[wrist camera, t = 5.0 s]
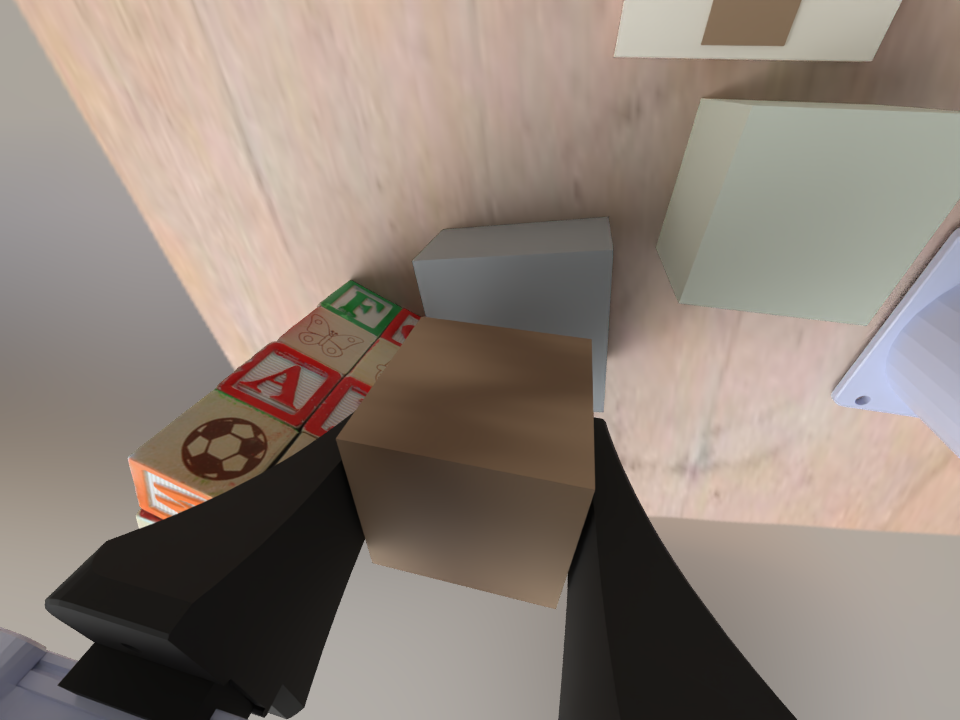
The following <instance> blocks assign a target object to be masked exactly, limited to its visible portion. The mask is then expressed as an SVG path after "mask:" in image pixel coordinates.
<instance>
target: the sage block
mask: <svg viewBox="0 0 960 720" xmlns="http://www.w3.org/2000/svg"><path fill="white" fill-rule="evenodd" d="M959 199H960V111H953V110H940V109H927V108H915V107H902V106H889V105H877V104H849V103H821V102H793V101H766V100H738V99H710V98H701V101H700V104H699V107H698V110H697V114H696V117H695V120H694V124H693V127H692V130H691V133H690V137H689V140H688V143H687V147H686V150H685V153H684V156H683V160H682V163H681V166H680V170H679V173H678V176H677V180H676V183H675V186H674V189H673V193H672V196H671V199H670V203H669V206H668V209H667V212H666V216H665V219H664V222H663V226H662V229H661V232H660V235H659V239H658V242H657V245H656V250H657V252H658V255H659V257H660V259H661V262H662V264H663V267H664V269H665V272H666V274H667V276H668V279H669V281H670V284H671V286H672V289H673V291H674V293H675V296H676V298H677V301H678V303H679V304H688V305H696V306H704V307H713V308H721V309H729V310H738V311H746V312H755V313H763V314H771V315H780V316H788V317H796V318H805V319H813V320H822V321H830V322H838V323H847V324H855V325H863V326H867V325H868V323H869V322H870V321H871V319H872V318H873V317H874V315H875V314H876V313H877V311H878V310H879V308H880V307H881V306H882V304H883V303H884V302H885V300H886V299H887V297H888V296H889V295H890V293H891V292H892V291H893V289H894V288H895V286H896V285H897V284H898V282H899V281H900V280H901V278H902V277H903V276H904V274H905V273H906V271H907V270H908V269H909V267H910V266H911V265H912V263H913V262H914V260H915V259H916V258H917V256H918V255H919V254H920V252H921V251H922V249H923V248H924V247H925V245H926V244H927V243H928V241H929V240H930V238H931V237H932V236H933V234H934V233H935V232H936V230H937V229H938V228H939V226H940V225H941V223H942V222H943V221H944V219H945V218H946V217H947V215H948V214H949V212H950V211H951V210H952V208H953V207H954V206H955V204H956V203H957V201H958V200H959Z"/></svg>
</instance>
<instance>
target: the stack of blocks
mask: <svg viewBox="0 0 960 720" xmlns="http://www.w3.org/2000/svg"><path fill="white" fill-rule="evenodd" d="M420 318H421V317H420V316H418V315H416V314H414V313H412V312H410V311H409V310H407V309H404V308H401V307H399V306H398V305H396V304H394V303H392V302H390V301H388V300H386V299H385V298H383V297H381V296H379V295H377V294H375V293H374V292H372V291H370V290H368V289H366V288H364V287H363V286H361V285H359V284H357V283H355V282H354V281H352V280H350V281H348V282H347V283H345V284H344V285H343V286H342V287H340V288H339V289H338V290H336V291H335V292H333V293H332V294H331V295H330V296H328V297H327V298H326V299H325V300H323V301H322V302H320V304H319V305H318V306H317V308H316V309H315V310H314V311H313V312H311V313H310V314H309V315H307V316H306V317H305V318H303V319H302V320H301V321H300V322H298V323H297V324H296V325H294V326H293V327H292V328H290V329H289V330H288V331H287V332H286V333H285V334H283V335H282V336H281V337H280V338H279V339H278V341H276V342H271V343H269V344H268V345H267V346H265V347H264V348H263V349H262V350H260V351H259V352H258V353H256V354H255V355H254V356H253V357H252V358H251V359H250V360H248V361H247V362H245V363H244V364H243V365H242V366H240V367H238V368H237V369H236V370H235V371H234V373H232V374H231V375H229V376H228V377H227V378H225V379H224V380H223V381H222V382H221V383H219V384H218V385H217V387H216V389H215V390H213V391H212V392H210V393H209V394H208V395H207V396H205V397H204V398H203V399H201V400H200V401H199V402H197V403H196V404H195V405H193V406H192V407H191V408H189V409H188V410H187V411H186V412H184V413H183V414H182V415H181V416H179V417H178V418H176V419H175V420H174V421H173V422H171V423H170V424H169V425H168V426H166V427H165V428H164V429H162V430H161V431H160V432H159V433H157V434H156V435H155V436H154V437H152V438H151V439H150V440H148V441H147V442H146V443H144V444H143V445H142V446H141V447H139V448H138V449H137V450H136V451H135V452H134V453H132V454H131V455H130V456H129V457H128V462H129V466H130V469H131V473H132V477H133V481H134V484H135V490H136V494H137V498H138V502H139V506H140V507H141V508H142V509H141V510H140V511H139V512H138V513H137V515H136V519H137V523H138V526H139V529H140V528H143V527H145V526H148V525H150V524H153V523H156V522H158V521H161V520H163V519H166V518H168V517H171V516H173V515H175V514H178V513H180V512H182V511H185V510H187V509H189V508H192V507H194V506H196V505H198V504H201V503H203V502H205V501H207V500H209V499H212V498H214V497H216V496H218V495H220V494H222V493H224V492H226V491H228V490H230V489H232V488H234V487H236V486H238V485H240V484H242V483H244V482H246V481H248V480H250V479H251V478H253V477H255V476H257V475H259V474H261V473H263V472H265V471H266V470H268V469H270V468H272V467H273V466H275V465H277V464H279V463H280V462H282V461H284V460H285V459H287V458H289V457H290V456H292V455H294V454H295V453H297V452H298V451H300V450H301V449H303V448H304V447H306V446H307V445H309V444H310V443H312V442H313V441H315V440H316V439H317V438H319V437H320V436H322V435H323V434H325V433H326V432H328V431H329V430H330V429H332V428H333V427H334V426H336V425H337V424H338V423H340V422H341V421H342V420H344V419H345V418H346V417H348V416H349V415H350V414H352V413H353V412H354V411H355V410H356V409H357V408H358V406H359V405H360V403H361V402H362V401H363V399H364V398H365V396H366V395H367V393H368V392H369V391H370V389H371V388H372V386H373V385H374V384H375V382H376V381H377V379H378V378H379V376H380V375H381V374H382V372H383V371H384V369H385V368H386V366H387V365H388V364H389V362H390V361H391V359H392V358H393V356H394V355H395V354H396V352H397V351H398V349H399V348H400V347H401V345H402V344H403V342H404V341H405V339H406V338H407V337H408V335H409V334H410V332H411V331H412V329H413V328H414V327H415V325H416V324H417V322H418V321H419V320H420Z"/></svg>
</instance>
